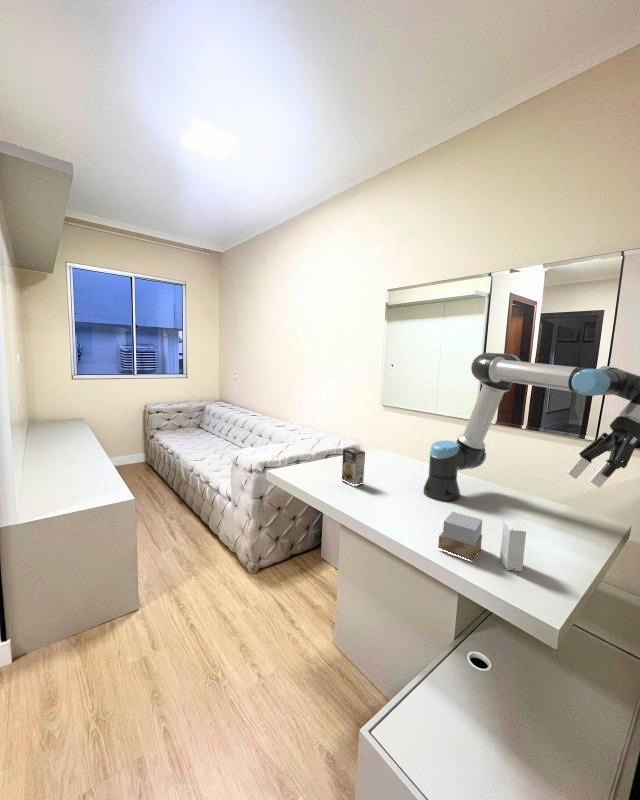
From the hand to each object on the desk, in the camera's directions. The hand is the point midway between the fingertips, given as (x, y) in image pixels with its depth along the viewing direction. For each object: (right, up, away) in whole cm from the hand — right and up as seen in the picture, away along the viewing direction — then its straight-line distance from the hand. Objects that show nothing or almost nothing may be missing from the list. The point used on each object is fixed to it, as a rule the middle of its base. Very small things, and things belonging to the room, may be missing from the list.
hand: (582, 479), depth 101 cm
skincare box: (-22, -24, -2) cm, 33 cm away
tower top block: (-33, -18, +5) cm, 38 cm away
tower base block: (-34, -23, +6) cm, 41 cm away
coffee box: (-62, -16, +62) cm, 89 cm away
